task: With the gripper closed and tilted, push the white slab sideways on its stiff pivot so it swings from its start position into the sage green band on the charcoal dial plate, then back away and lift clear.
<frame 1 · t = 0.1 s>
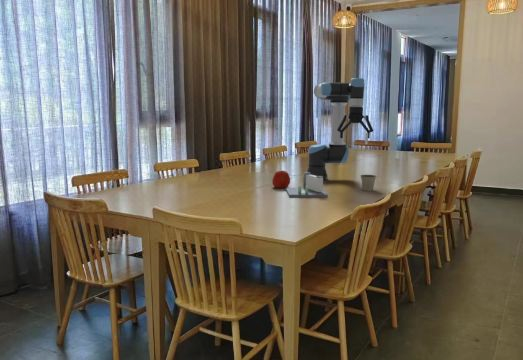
hand: (354, 144, 256), 28 cm above the table, tool pointing down, fingers open, 13 cm apart
white slab: (312, 181, 257), point 6 cm above the table, hinge at 25.0°
dial plate: (306, 191, 264), on the table
flower pot: (367, 190, 268), on the table
apple: (281, 187, 275), on the table
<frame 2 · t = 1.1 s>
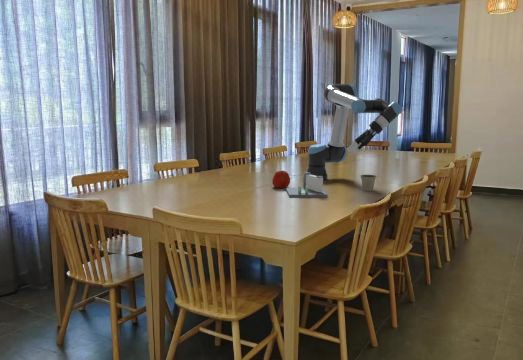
hand: (350, 151, 256), 24 cm above the table, tool tilted 45°, fingers open, 12 cm apart
nothing on the table moved.
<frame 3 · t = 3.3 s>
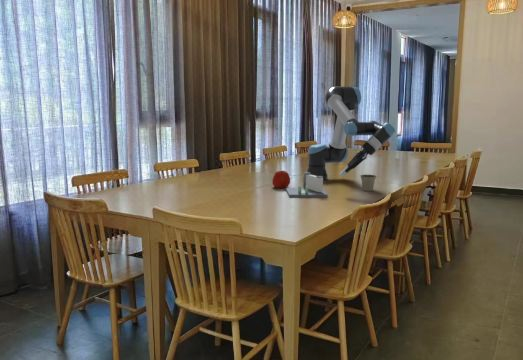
hand: (341, 175, 253), 11 cm above the table, tool tilted 45°, fingers closed
nothing on the table moved.
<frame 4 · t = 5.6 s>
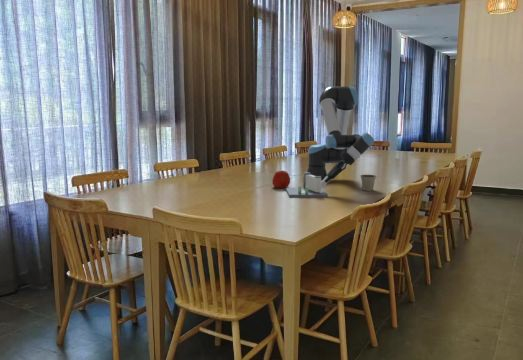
hand: (320, 185, 253), 5 cm above the table, tool tilted 45°, fingers closed
white slab: (311, 181, 257), point 6 cm above the table, hinge at 19.6°, touching gripper
everything else where it was.
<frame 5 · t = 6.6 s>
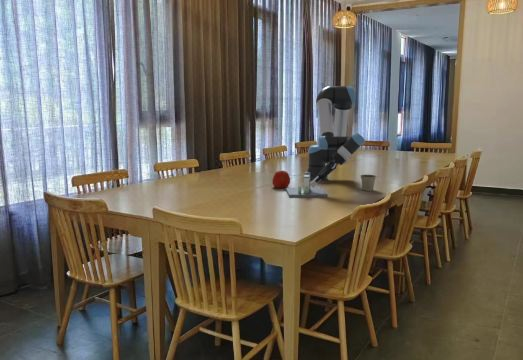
hand: (311, 185, 253), 5 cm above the table, tool tilted 45°, fingers closed
white slab: (306, 181, 257), point 6 cm above the table, hinge at -9.4°, touching gripper
everything else where it was.
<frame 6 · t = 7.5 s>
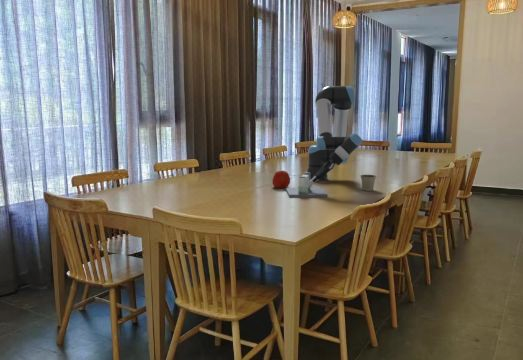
hand: (308, 185, 254), 5 cm above the table, tool tilted 45°, fingers closed
white slab: (304, 181, 257), point 6 cm above the table, hinge at -19.4°, touching gripper
everything else where it was.
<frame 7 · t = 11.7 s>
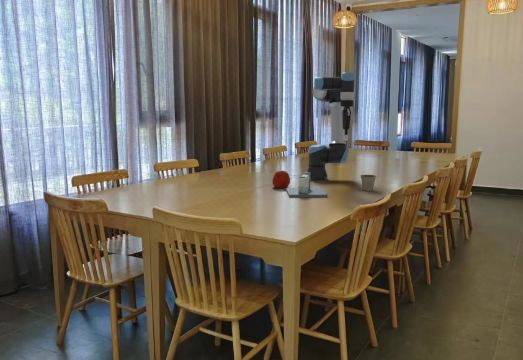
hand: (345, 140, 265), 29 cm above the table, tool pointing down, fingers closed
white slab: (304, 181, 257), point 6 cm above the table, hinge at -19.6°
everything else where it was.
at the end: white slab at -20° (first picture: +25°); apple moved 0.3 cm from its start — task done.
